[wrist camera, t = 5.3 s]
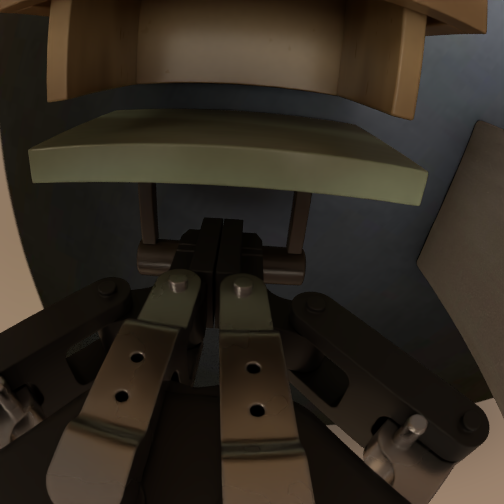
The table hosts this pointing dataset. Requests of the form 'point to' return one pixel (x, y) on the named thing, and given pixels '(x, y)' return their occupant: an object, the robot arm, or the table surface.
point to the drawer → (229, 121)
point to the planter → (473, 253)
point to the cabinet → (429, 3)
